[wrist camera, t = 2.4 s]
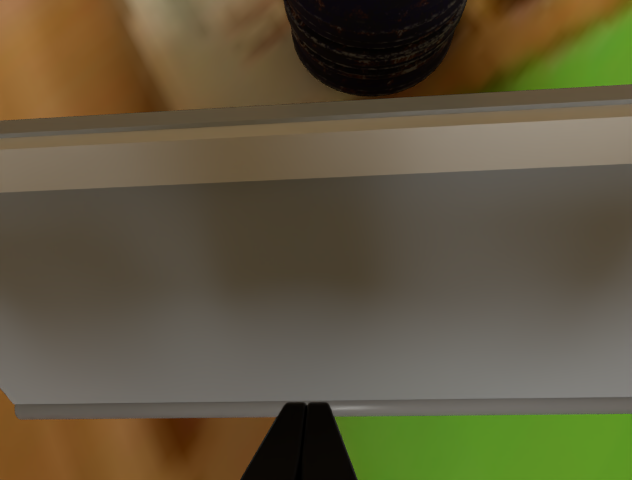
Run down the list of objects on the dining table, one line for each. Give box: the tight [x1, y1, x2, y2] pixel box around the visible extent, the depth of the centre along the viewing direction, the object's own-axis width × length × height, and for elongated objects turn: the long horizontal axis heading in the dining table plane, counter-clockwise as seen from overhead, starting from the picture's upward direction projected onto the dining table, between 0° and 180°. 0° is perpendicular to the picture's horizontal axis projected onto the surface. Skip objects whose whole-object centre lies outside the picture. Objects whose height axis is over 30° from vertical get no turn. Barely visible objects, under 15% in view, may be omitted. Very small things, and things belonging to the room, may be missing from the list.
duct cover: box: [0, 84, 632, 419], centre depth 13 cm, size 11×22×1 cm
